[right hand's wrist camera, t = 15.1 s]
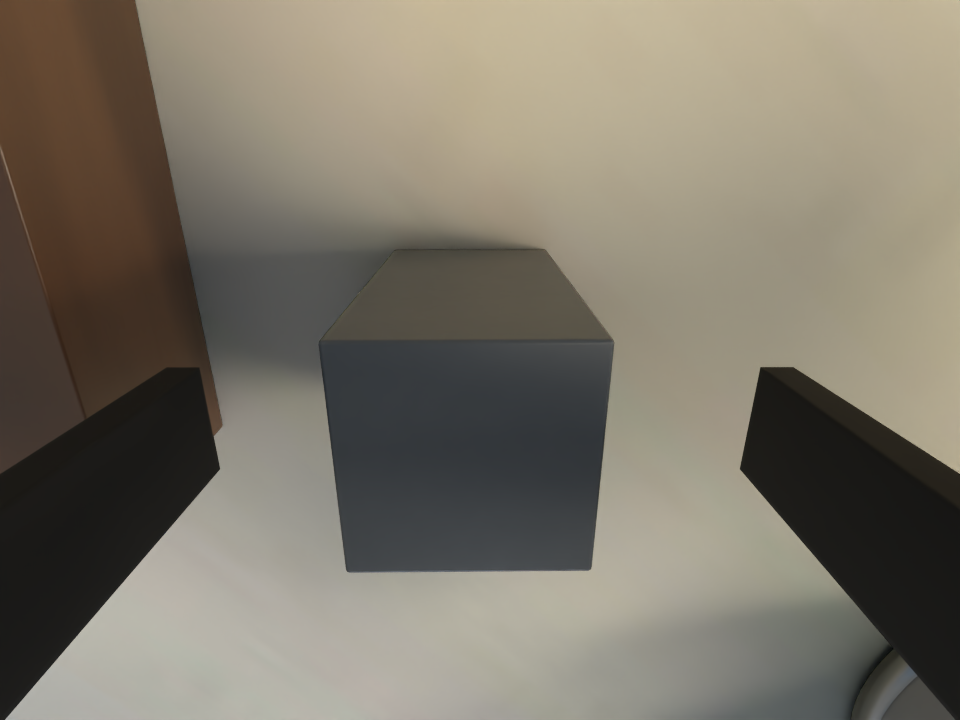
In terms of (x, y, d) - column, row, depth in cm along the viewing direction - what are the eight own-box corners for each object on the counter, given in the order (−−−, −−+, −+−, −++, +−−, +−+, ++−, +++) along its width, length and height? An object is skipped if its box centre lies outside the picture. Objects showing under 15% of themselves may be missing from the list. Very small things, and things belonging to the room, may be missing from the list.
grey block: (546, 249, 17) (616, 339, 9) (539, 387, 19) (592, 572, 11) (394, 249, 17) (316, 341, 9) (402, 388, 19) (345, 574, 10)
